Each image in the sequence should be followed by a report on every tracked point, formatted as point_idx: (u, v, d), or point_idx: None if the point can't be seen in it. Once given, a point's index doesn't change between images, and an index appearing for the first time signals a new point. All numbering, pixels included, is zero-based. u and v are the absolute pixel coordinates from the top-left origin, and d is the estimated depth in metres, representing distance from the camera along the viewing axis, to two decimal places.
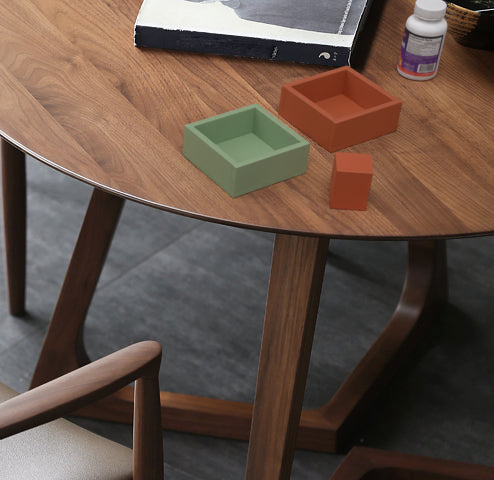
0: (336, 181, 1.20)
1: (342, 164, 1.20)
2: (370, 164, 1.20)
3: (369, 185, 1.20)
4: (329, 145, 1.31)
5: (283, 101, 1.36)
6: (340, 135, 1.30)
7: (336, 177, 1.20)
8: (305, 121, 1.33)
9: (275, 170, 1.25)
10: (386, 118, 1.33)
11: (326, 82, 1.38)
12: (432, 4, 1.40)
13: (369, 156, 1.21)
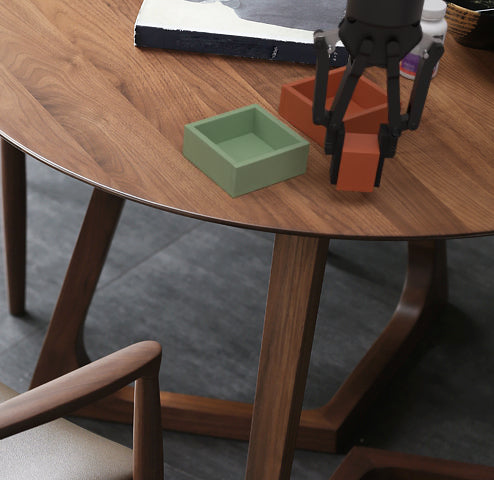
0: (342, 162, 1.18)
1: (348, 145, 1.18)
2: (376, 145, 1.18)
3: (376, 165, 1.18)
4: None
5: (283, 101, 1.36)
6: None
7: (342, 158, 1.18)
8: (305, 121, 1.33)
9: (275, 170, 1.25)
10: (386, 118, 1.33)
11: None
12: (432, 4, 1.40)
13: (375, 136, 1.20)
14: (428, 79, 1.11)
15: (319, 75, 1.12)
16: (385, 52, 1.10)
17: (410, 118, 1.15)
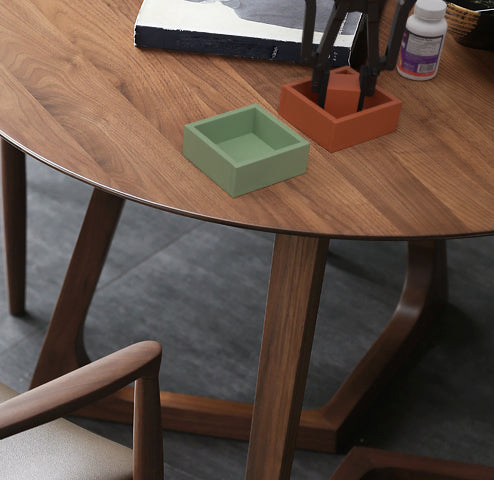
0: (327, 98, 1.32)
1: (333, 83, 1.32)
2: (358, 83, 1.32)
3: (357, 102, 1.32)
4: (329, 145, 1.31)
5: (283, 101, 1.36)
6: (340, 135, 1.30)
7: (327, 95, 1.32)
8: (305, 121, 1.33)
9: (275, 170, 1.25)
10: (386, 118, 1.33)
11: None
12: (432, 4, 1.40)
13: (357, 76, 1.34)
14: (403, 23, 1.26)
15: (307, 19, 1.26)
16: None
17: (387, 59, 1.29)
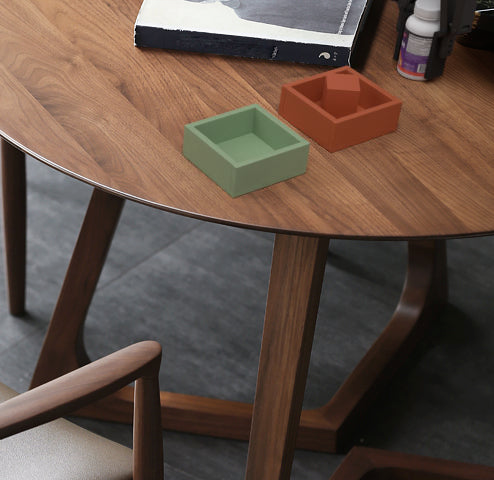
0: (327, 98, 1.32)
1: (332, 83, 1.32)
2: (357, 83, 1.32)
3: (357, 102, 1.32)
4: (329, 145, 1.31)
5: (283, 101, 1.36)
6: (340, 135, 1.30)
7: (327, 95, 1.32)
8: (305, 121, 1.33)
9: (275, 170, 1.25)
10: (386, 118, 1.33)
11: None
12: (432, 4, 1.40)
13: (357, 76, 1.34)
14: None
15: None
16: None
17: (452, 24, 1.36)
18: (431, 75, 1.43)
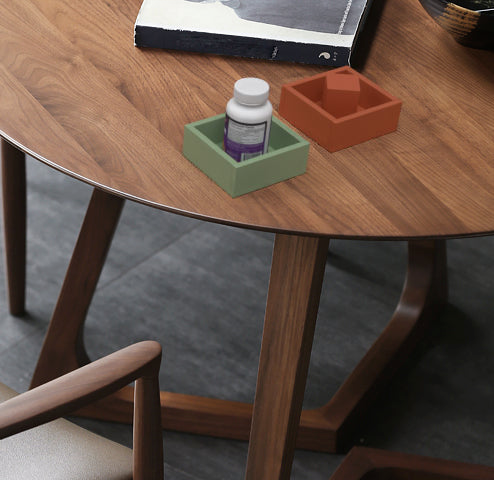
0: (327, 98, 1.32)
1: (332, 83, 1.32)
2: (357, 83, 1.32)
3: (357, 102, 1.32)
4: (329, 145, 1.31)
5: (283, 101, 1.36)
6: (340, 135, 1.30)
7: (327, 95, 1.32)
8: (305, 121, 1.33)
9: (275, 170, 1.25)
10: (386, 118, 1.33)
11: None
12: (252, 86, 1.22)
13: (357, 76, 1.34)
14: None
15: None
16: None
17: None
18: None
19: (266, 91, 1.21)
